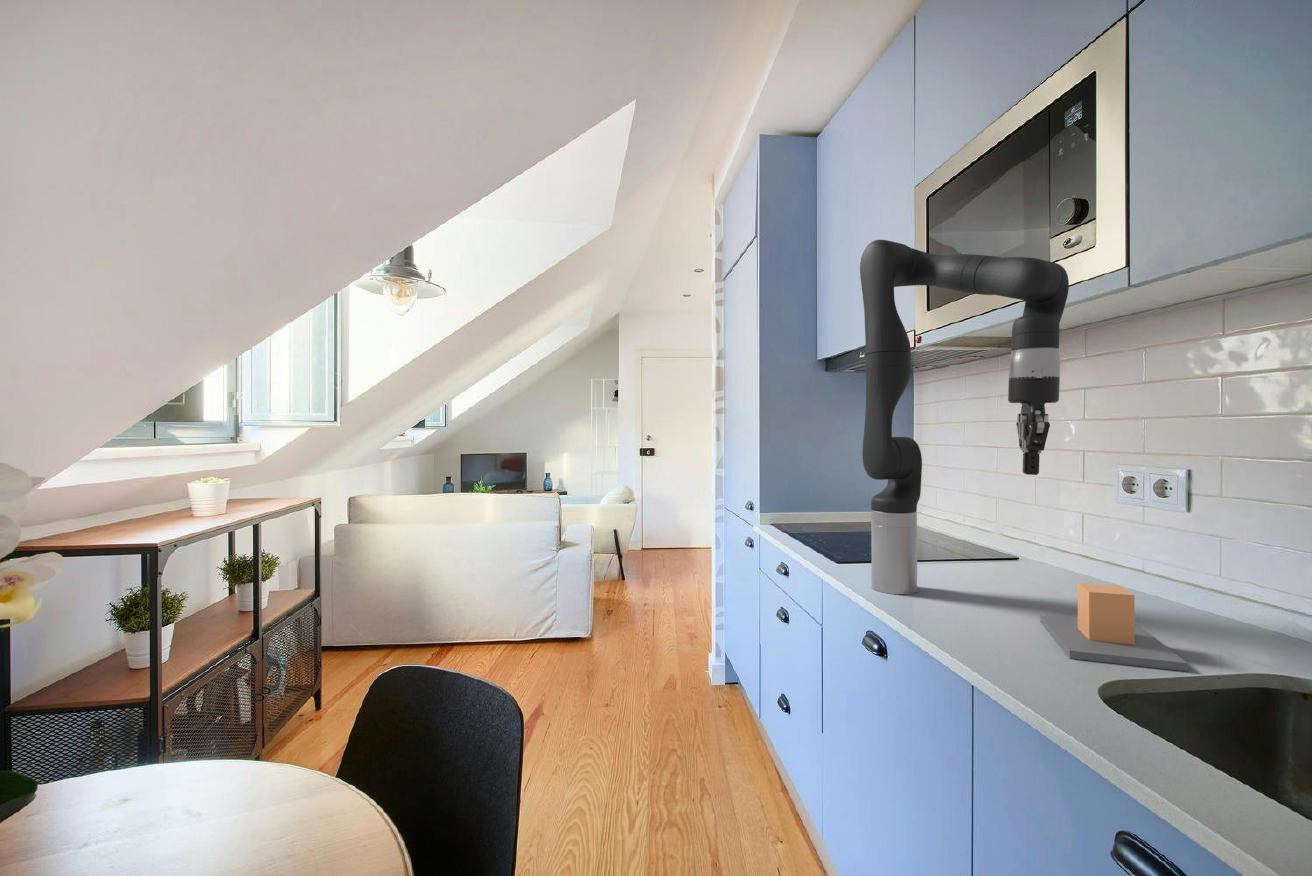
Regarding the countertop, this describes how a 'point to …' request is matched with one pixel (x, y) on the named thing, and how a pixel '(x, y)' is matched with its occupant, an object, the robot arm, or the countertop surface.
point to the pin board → (1112, 646)
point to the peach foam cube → (1106, 613)
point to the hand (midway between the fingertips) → (1030, 474)
